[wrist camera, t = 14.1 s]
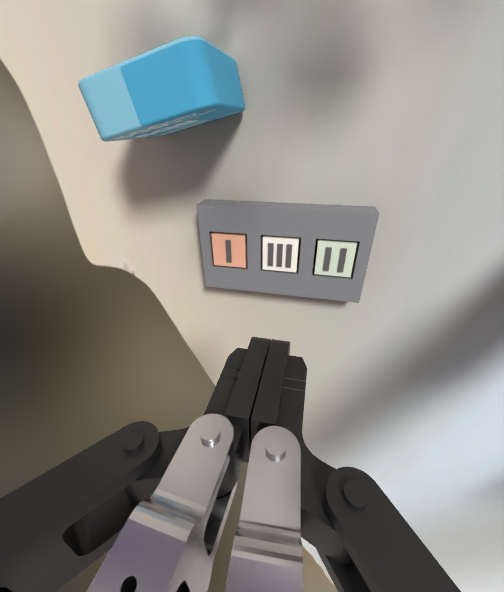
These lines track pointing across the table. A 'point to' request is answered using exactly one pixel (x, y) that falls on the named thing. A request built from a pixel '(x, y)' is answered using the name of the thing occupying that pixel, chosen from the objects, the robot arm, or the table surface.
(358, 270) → the button panel
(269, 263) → the button three
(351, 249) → the button two
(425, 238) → the table surface
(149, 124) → the data package
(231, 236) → the button one
